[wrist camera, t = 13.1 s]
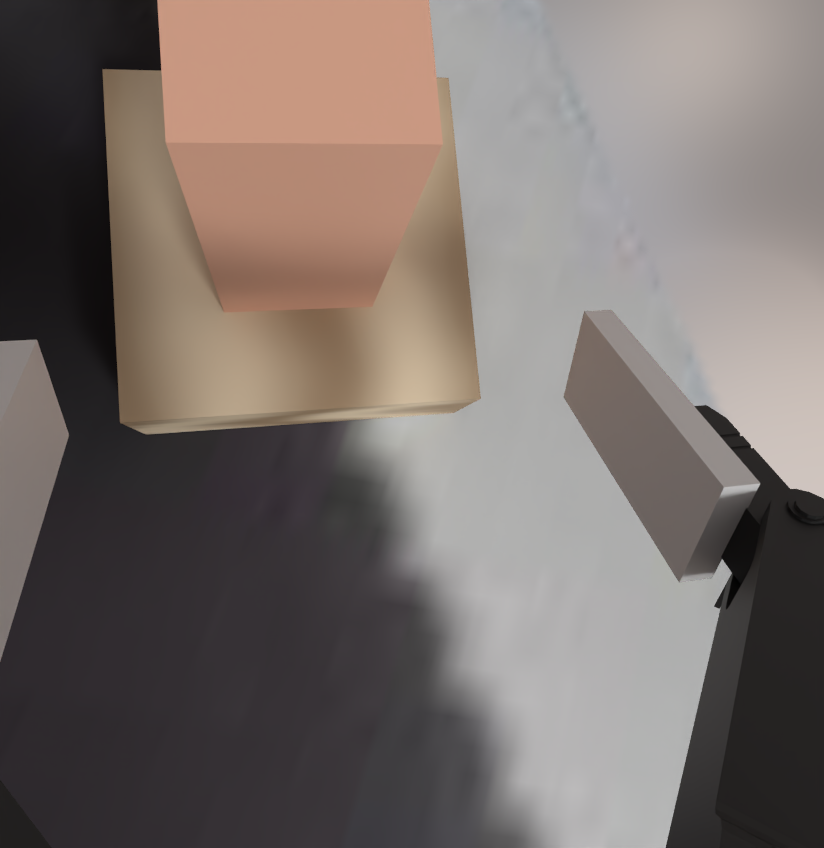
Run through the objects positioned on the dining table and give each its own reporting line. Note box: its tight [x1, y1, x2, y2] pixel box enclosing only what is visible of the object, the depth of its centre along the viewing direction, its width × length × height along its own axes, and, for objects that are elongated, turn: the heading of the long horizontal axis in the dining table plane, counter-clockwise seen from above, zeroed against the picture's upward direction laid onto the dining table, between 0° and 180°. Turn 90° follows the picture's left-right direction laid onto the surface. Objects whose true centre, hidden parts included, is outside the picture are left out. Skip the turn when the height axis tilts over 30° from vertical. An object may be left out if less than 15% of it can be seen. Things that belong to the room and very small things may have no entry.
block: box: [157, 0, 443, 312], centre depth 18 cm, size 5×5×11 cm
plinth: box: [103, 69, 481, 434], centre depth 25 cm, size 12×12×4 cm
